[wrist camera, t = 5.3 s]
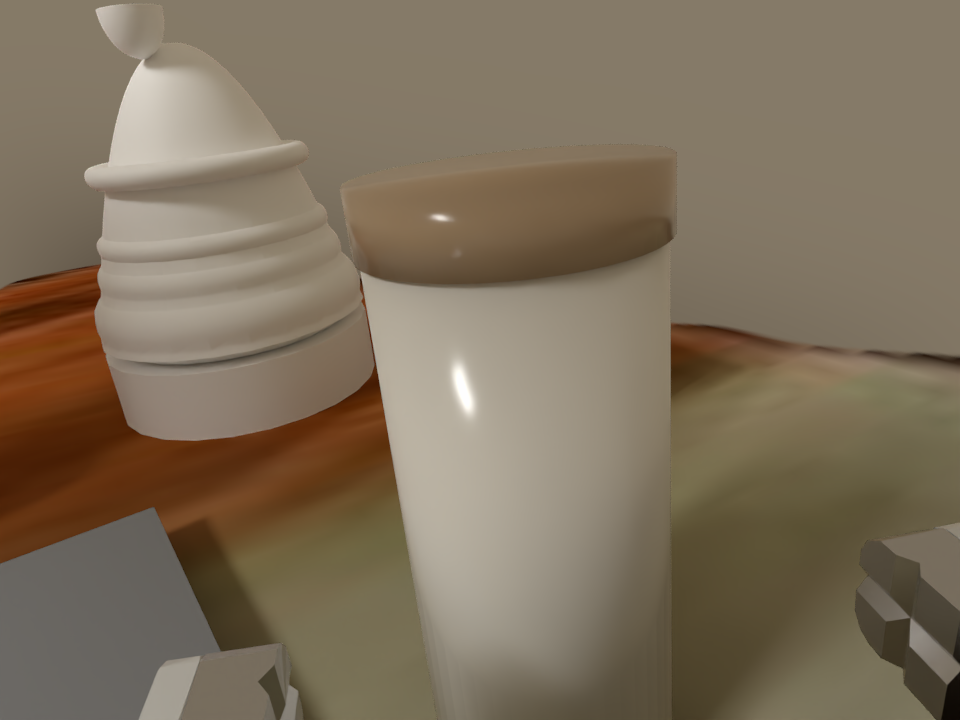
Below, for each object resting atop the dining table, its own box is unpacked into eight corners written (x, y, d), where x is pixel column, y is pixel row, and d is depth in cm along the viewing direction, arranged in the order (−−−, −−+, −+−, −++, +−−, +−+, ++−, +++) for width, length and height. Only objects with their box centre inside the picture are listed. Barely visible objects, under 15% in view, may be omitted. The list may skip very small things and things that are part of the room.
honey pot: (280, 453, 30) (165, -28, 23) (66, 428, 34) (-80, 26, 28) (414, 344, 40) (363, -2, 34) (238, 337, 45) (163, 33, 39)
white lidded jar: (393, 704, 17) (290, 185, 12) (565, 600, 19) (532, 143, 15) (535, 897, 12) (454, 209, 8) (730, 730, 15) (752, 145, 11)
